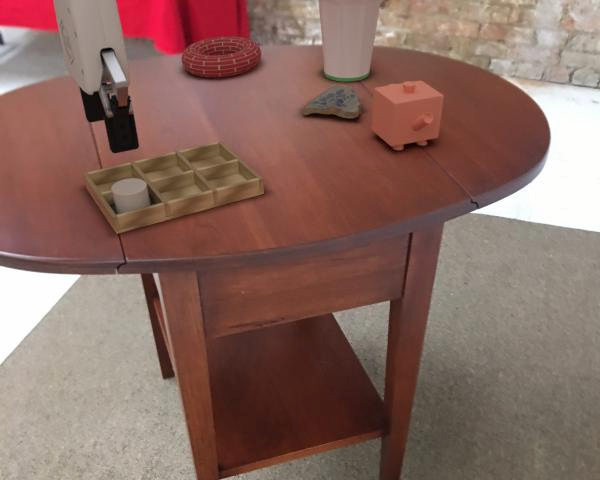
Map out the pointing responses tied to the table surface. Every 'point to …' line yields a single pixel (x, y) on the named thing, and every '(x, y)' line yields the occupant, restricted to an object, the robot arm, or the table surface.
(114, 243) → the table surface
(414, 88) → the pink cube teapot
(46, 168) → the table surface
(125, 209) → the grey squat cylinder
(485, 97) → the table surface
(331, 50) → the cup
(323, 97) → the ceramic fragment
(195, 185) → the compartment tray
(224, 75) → the torus
